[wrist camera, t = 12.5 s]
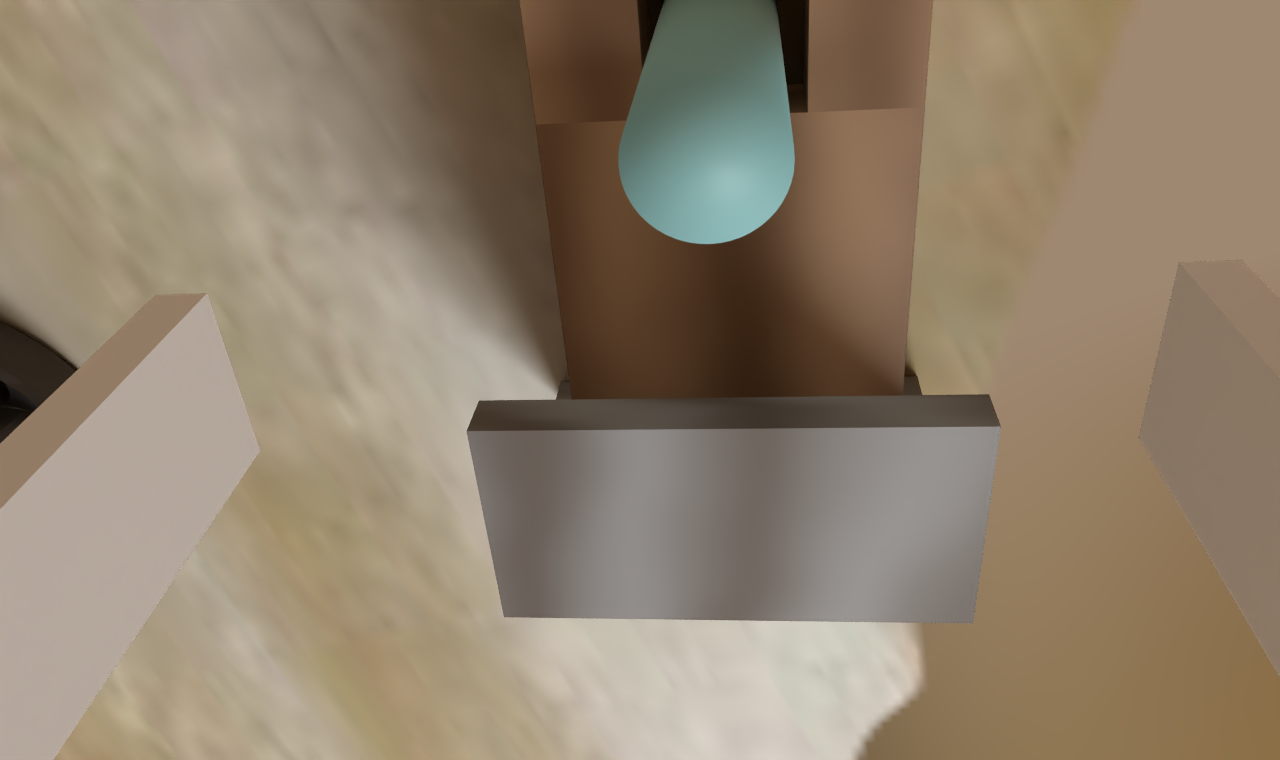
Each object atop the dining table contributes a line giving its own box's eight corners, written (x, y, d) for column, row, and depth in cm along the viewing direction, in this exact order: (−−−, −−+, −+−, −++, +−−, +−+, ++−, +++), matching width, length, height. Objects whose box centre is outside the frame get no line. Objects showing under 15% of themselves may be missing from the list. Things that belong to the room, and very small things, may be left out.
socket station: (564, 402, 41) (504, 616, 31) (488, -149, 30) (360, -95, 20) (915, 397, 39) (972, 623, 29) (965, -185, 29) (1082, -146, 19)
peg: (667, 69, 33) (625, 246, 22) (661, -47, 32) (611, 78, 20) (776, 64, 33) (793, 242, 21) (776, -54, 31) (796, 70, 19)
